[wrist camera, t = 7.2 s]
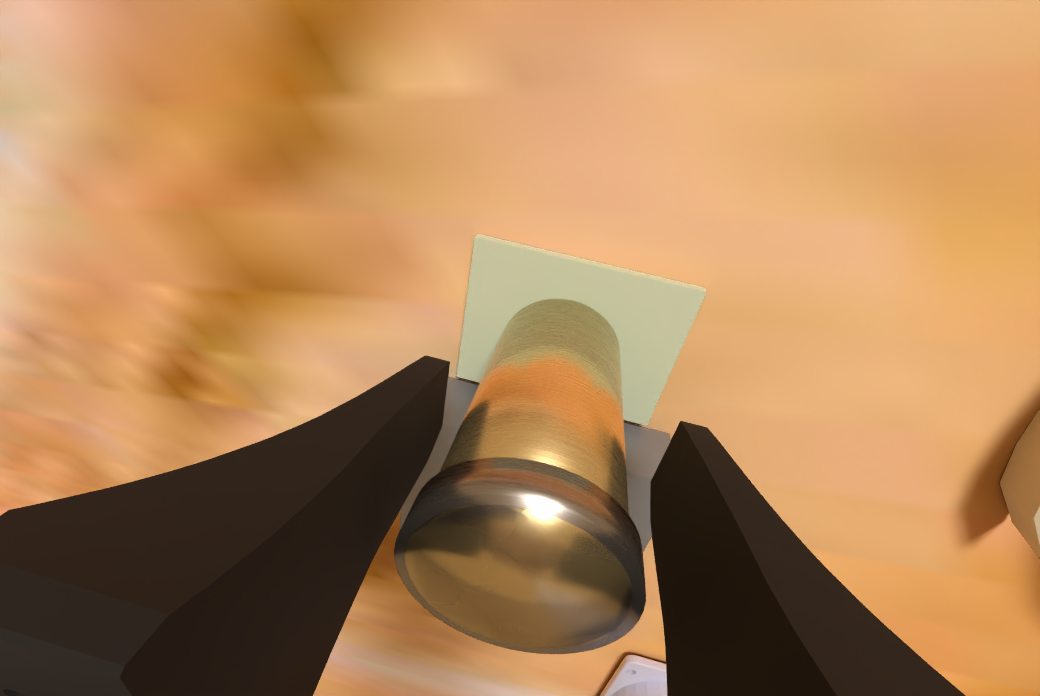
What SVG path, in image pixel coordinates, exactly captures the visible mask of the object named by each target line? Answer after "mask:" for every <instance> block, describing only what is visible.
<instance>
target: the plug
mask: <svg viewBox="0 0 1040 696" xmlns="http://www.w3.org/2000/svg"><path fill="white" fill-rule="evenodd" d="M394 555H395V563H396V567H397V571H398V573H399V575H400V577H401V580H402V581H403V583H404V585H405V586H406V588H407V589H408V591H409V592H410V593H411V594H412V595H413V597H414V598H415V599H416V600H417V601H418V602H419V603H420V604H421V605H422V606H423V607H424V608H425V609H427V610H428V611H429V612H430V613H432V614H433V615H434V616H435V617H437V618H438V619H440V620H441V621H443V622H444V623H446V624H448V625H449V626H451V627H453V628H455V629H456V630H458V631H460V632H462V633H465V634H467V635H469V636H471V637H474V638H476V639H479V640H481V641H484V642H487V643H490V644H493V645H496V646H500V647H504V648H508V649H512V650H518V651H523V652H531V653H541V654H568V653H577V652H583V651H588V650H593V649H596V648H599V647H602V646H605V645H607V644H610V643H612V642H614V641H616V640H618V639H619V638H621V637H622V636H624V635H625V634H627V633H628V632H629V631H630V630H631V629H632V628H633V627H634V626H635V625H636V623H637V622H638V621H639V619H640V617H641V615H642V613H643V611H644V606H645V602H646V590H645V577H644V564H643V552H642V544H641V539H640V535H639V533H638V530H637V528H636V526H635V524H634V522H633V521H632V519H631V518H630V516H629V510H628V491H627V473H626V454H625V435H624V417H623V398H622V379H621V360H620V346H619V341H618V339H617V336H616V333H615V332H614V330H613V328H612V326H611V325H610V324H609V322H608V321H607V320H606V319H605V318H604V317H603V316H602V315H601V314H599V313H598V312H597V311H596V310H594V309H592V308H591V307H589V306H587V305H584V304H582V303H579V302H576V301H573V300H567V299H547V300H542V301H538V302H535V303H532V304H530V305H528V306H526V307H524V308H523V309H521V310H520V311H518V312H517V313H516V314H515V315H514V316H513V317H512V318H511V319H510V321H509V322H508V323H507V325H506V327H505V329H504V331H503V333H502V335H501V338H500V340H499V342H498V344H497V346H496V349H495V351H494V353H493V355H492V357H491V360H490V362H489V364H488V366H487V368H486V371H485V373H484V375H483V377H482V379H481V382H480V384H479V386H478V388H477V390H476V393H475V395H474V397H473V399H472V401H471V404H470V406H469V408H468V410H467V412H466V415H465V417H464V419H463V421H462V423H461V426H460V428H459V430H458V432H457V434H456V437H455V439H454V441H453V443H452V445H451V448H450V450H449V452H448V454H447V457H446V459H445V461H444V463H443V465H442V468H441V470H440V472H439V473H438V474H437V475H435V476H434V477H432V478H431V479H430V480H429V481H428V482H427V483H426V484H425V485H424V486H423V487H422V489H421V490H420V492H419V493H418V495H417V497H416V499H415V501H414V503H413V505H412V507H411V509H410V511H409V513H408V515H407V517H406V519H405V521H404V523H403V525H402V528H401V530H400V532H399V534H398V537H397V539H396V542H395V549H394Z"/></svg>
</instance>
